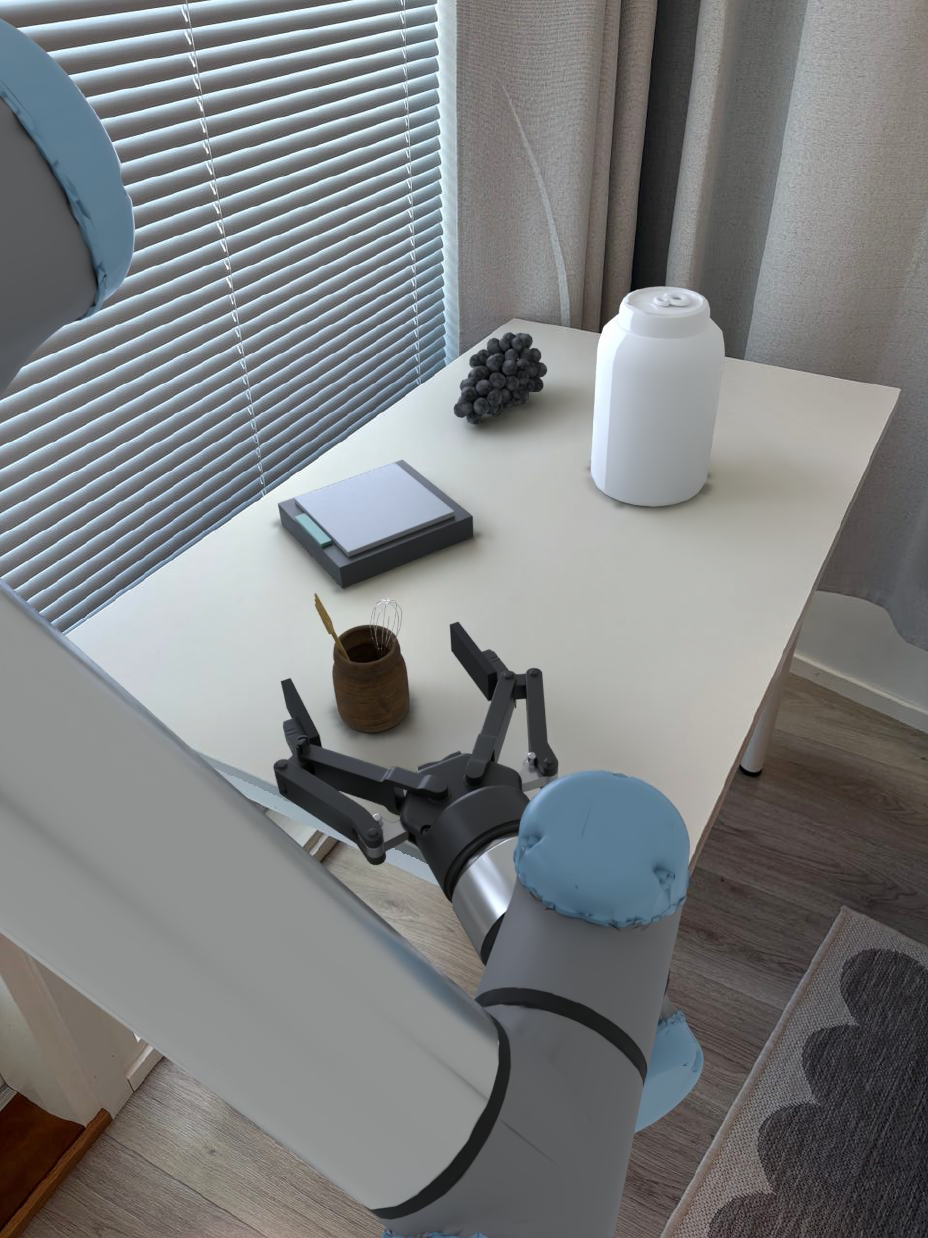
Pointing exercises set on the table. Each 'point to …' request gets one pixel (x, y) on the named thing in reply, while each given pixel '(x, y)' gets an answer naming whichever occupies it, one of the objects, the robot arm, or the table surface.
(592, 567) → the table surface
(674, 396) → the can
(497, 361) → the fruit
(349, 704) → the utensil holder
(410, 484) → the scale
